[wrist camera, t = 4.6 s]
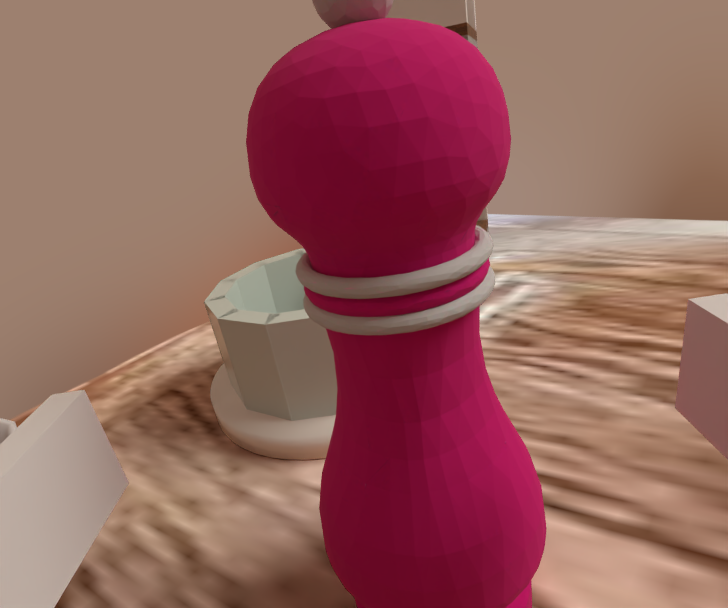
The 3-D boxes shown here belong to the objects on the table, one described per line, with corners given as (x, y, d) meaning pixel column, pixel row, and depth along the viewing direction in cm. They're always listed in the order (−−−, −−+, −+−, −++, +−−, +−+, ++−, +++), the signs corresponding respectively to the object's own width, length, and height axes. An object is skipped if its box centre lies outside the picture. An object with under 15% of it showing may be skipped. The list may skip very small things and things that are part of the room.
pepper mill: (307, 600, 18) (110, -13, 10) (432, 487, 22) (361, -14, 14) (459, 777, 13) (298, -217, 5) (586, 586, 17) (612, -125, 9)
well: (434, 310, 39) (424, 223, 36) (476, 438, 24) (465, 309, 22) (247, 338, 40) (222, 255, 37) (180, 476, 26) (130, 358, 23)
